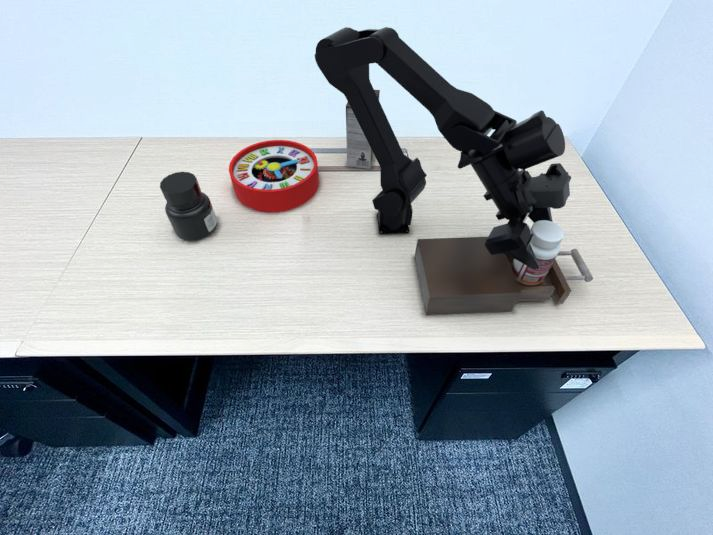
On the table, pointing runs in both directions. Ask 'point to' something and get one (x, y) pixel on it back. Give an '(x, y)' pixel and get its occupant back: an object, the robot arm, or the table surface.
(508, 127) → the robot arm
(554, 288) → the drawer
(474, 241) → the cabinet
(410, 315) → the table surface
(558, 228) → the pill bottle
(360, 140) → the coffee box
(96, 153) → the table surface
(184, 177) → the ink bottle
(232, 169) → the toy clock
